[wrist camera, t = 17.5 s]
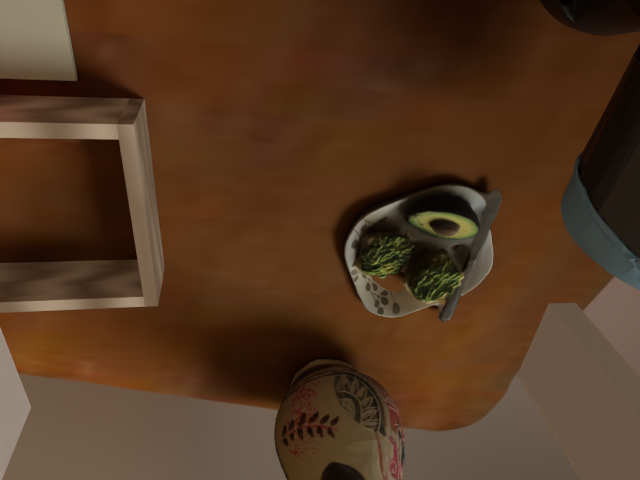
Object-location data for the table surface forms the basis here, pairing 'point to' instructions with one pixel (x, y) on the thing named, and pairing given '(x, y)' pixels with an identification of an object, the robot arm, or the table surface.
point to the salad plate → (422, 248)
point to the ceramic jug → (338, 426)
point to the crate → (132, 131)
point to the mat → (35, 41)
